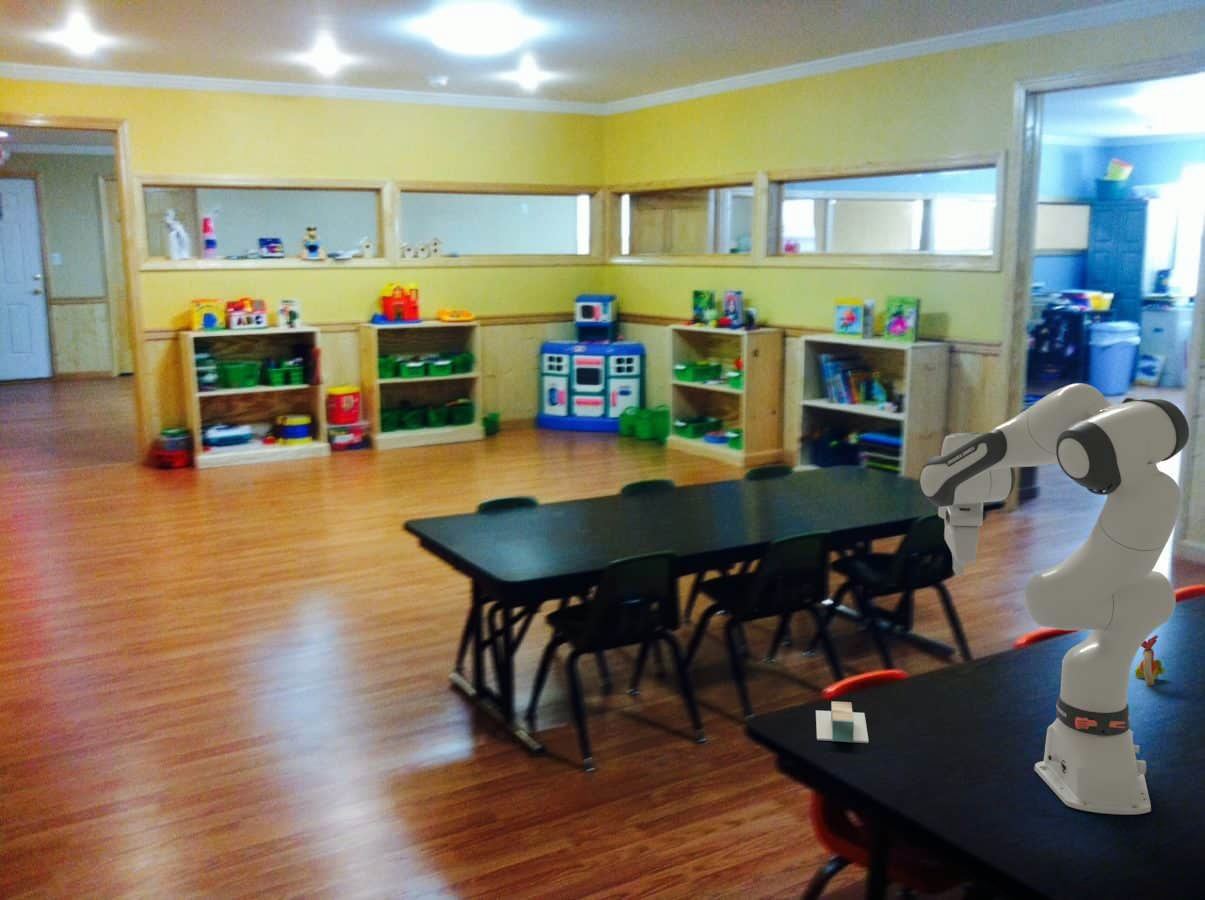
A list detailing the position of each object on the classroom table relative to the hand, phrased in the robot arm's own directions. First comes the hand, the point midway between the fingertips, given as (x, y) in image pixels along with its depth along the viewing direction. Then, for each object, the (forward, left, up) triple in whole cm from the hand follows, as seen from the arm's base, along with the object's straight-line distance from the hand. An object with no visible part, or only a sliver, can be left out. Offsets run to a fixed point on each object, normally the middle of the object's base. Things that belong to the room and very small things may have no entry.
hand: (958, 573), depth 229 cm
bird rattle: (+19, -45, -29) cm, 57 cm away
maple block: (-13, +24, -27) cm, 38 cm away
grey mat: (-15, +24, -29) cm, 41 cm away
